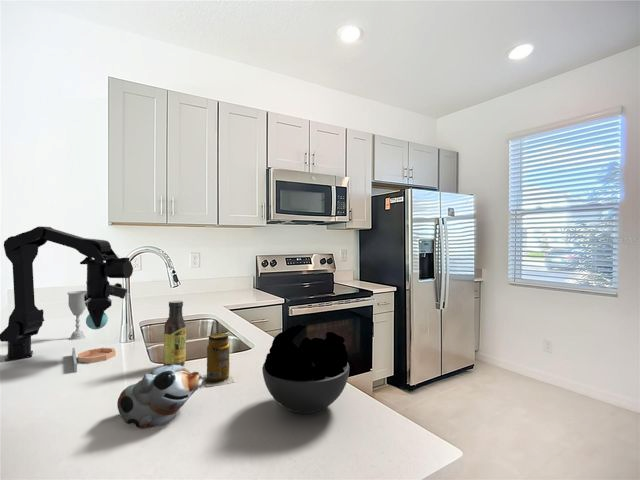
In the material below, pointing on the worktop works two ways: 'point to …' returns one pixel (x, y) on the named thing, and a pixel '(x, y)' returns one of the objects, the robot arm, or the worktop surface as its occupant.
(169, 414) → the lucky cat figurine
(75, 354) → the low wall
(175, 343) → the sauce bottle
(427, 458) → the worktop surface
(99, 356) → the saucer
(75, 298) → the chalice
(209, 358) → the condiment
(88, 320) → the ball
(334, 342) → the coal bowl
